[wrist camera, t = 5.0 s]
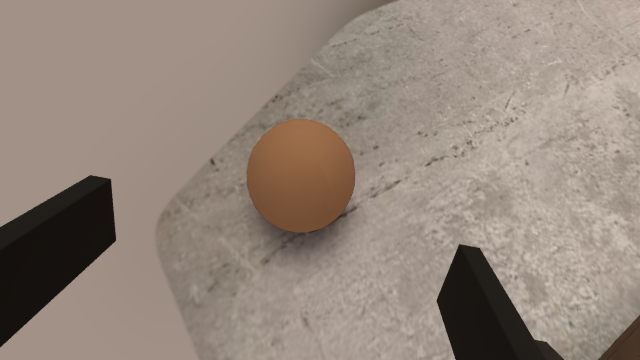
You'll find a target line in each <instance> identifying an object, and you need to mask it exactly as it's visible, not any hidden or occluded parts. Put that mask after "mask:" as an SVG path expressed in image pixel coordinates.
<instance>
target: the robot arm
mask: <svg viewBox="0 0 640 360" xmlns="http://www.w3.org/2000/svg"><path fill="white" fill-rule="evenodd" d="M115 241H116V234H115V222H114V211H113V199H112V188H111V179H108V178H103V177H97V176H92V175H90V176H88V177H86V178H85V179H83V180H81V181H80V182H78V183H76V184H74V185H73V186H71V187H69V188H68V189H66V190H64V191H62V192H60V193H59V194H57V195H55V196H54V197H52V198H50V199H48V200H47V201H45V202H43V203H41V204H40V205H38V206H36V207H34V208H33V209H31V210H29V211H28V212H26V213H24V214H23V215H21V216H19V217H18V218H16V219H14V220H12V221H10V222H8V223H7V224H5V225H3V226H2V227H0V347H1V346H2V345H3V344H4V343H6V342H7V341H8V340H9V339H10V338H11V337H12V336H13V335H14V334H15V333H16V332H17V331H19V330H20V329H21V328H22V327H23V326H24V325H25V324H26V323H27V322H28V321H29V320H31V319H32V318H33V317H34V316H35V315H36V314H37V313H38V312H39V311H40V310H41V309H42V308H43V307H45V306H46V305H47V304H48V303H49V302H50V301H51V300H52V299H53V298H54V297H55V296H56V295H58V293H60V292H61V291H62V290H63V289H64V288H65V287H66V286H67V285H68V284H69V283H71V282H72V281H73V280H74V279H75V278H76V277H77V276H78V275H79V274H80V273H81V272H83V271H84V270H85V268H87V267H88V266H89V265H90V264H91V263H92V262H93V261H94V260H95V259H97V258H98V257H99V256H100V255H101V254H102V253H103V252H104V251H105V250H106V249H107V248H109V247H110V246H111V245H112V244H113V243H114V242H115ZM437 303H438V306H439V310H440V313H441V316H442V319H443V322H444V325H445V328H446V331H447V334H448V337H449V340H450V344H451V347H452V350H453V353H454V356H455V359H456V360H564V359H563V358H562V357H561V356H560V355H559V354H558V353H557V352H556V351H555V350H554V349H553V348H552V347H551V346H550V345H549V344H548V343H547V342H543V341H538V340H534V339H533V337H532V335H531V334H530V332H529V330H528V329H527V327H526V325H525V324H524V322H523V320H522V319H521V317H520V315H519V313H518V312H517V310H516V308H515V307H514V305H513V303H512V302H511V300H510V298H509V297H508V295H507V293H506V292H505V290H504V288H503V287H502V285H501V283H500V282H499V280H498V278H497V276H496V275H495V273H494V271H493V270H492V268H491V266H490V265H489V263H488V261H487V260H486V258H485V256H484V255H483V253H482V251H481V250H480V248H477V247H471V246H466V245H461V244H459V246H458V249H457V251H456V254H455V256H454V259H453V261H452V264H451V266H450V269H449V271H448V273H447V276H446V278H445V281H444V283H443V286H442V288H441V291H440V293H439V296H438V298H437Z"/></svg>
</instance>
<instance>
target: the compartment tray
mask: <svg viewBox="0 0 640 360" xmlns="http://www.w3.org/2000/svg"><path fill="white" fill-rule="evenodd" d="M599 360H640V316H639V317H638V318H637V319H636V320H635V321H634V322H633V323H632V325H631V326H630V327H629V328H628V329H627V330H626V331H625V332H624V333H623V334H622V335H621V336H620V337H619V338H618V340H617V341H616V342H615V343H614V344H613V345H612V346H611V347H610V348H609V349H608V350H607V351H606V352H605V353H604V355H603V356H602V357H601V358H600V359H599Z"/></svg>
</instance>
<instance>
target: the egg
mask: <svg viewBox="0 0 640 360" xmlns="http://www.w3.org/2000/svg"><path fill="white" fill-rule="evenodd" d="M247 186H248V191H249V195H250V197H251V199H252V201H253V203H254V205H255V207H256V209H257V210H258V211H259V213H260V214H261V215H262V216H263V217H264V218H265V219H266V220H267V221H269V222H270V223H272V224H273V225H275V226H277V227H278V228H281V229H284V230H287V231H291V232H310V231H315V230H318V229H320V228H323V227H325V226H327V225H328V224H330V223H331V222H333V221H334V220H335V219H336V218H337V217H338V216H339V215H340V214H341V213H342V212H343V211H344V210H345V208H346V206H347V204H348V202H349V200H350V198H351V196H352V193H353V189H354V186H355V169H354V162H353V157H352V155H351V153H350V150H349V148H348V147H347V145H346V144H345V142H344V141H343V140H342V139H341V138H340V137H339V136H338V134H337V133H336V132H334V131H333V130H332V129H331V128H329V127H327V126H326V125H324V124H322V123H319V122H316V121H312V120H304V119H295V120H290V121H286V122H283V123H281V124H279V125H277V126H275V127H273V128H272V129H271V130H269V131H268V132H267V133H266V134H264V135H263V136H262V137H261V139H260V140H259V141H258V142H257V144H256V145H255V146H254V148H253V151H252V153H251V155H250V158H249V162H248V167H247Z"/></svg>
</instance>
